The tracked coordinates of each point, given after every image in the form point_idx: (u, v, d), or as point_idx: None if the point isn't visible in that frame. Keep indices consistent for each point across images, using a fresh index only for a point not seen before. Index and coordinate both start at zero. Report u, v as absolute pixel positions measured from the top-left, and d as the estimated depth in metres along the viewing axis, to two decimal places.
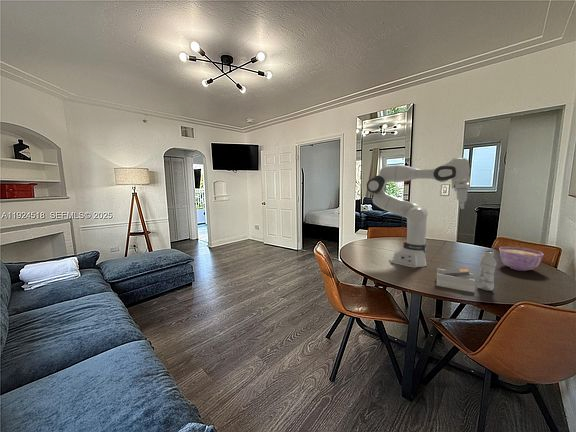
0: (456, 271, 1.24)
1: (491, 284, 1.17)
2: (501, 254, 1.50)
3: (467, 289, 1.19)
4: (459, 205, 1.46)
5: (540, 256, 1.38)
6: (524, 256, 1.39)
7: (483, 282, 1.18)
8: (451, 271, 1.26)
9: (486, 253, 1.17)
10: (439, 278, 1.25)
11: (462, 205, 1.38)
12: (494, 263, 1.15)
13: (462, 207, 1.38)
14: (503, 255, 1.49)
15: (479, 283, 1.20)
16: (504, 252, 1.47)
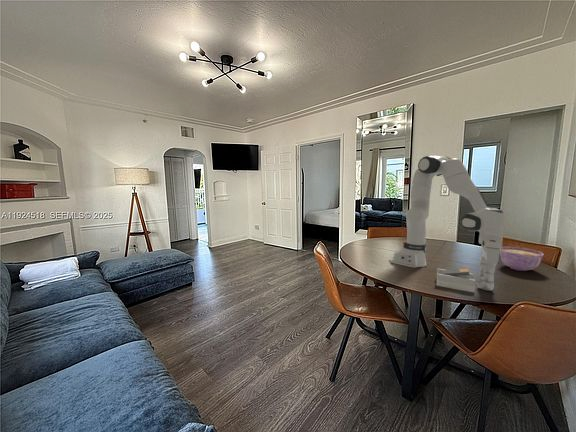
0: (456, 271, 1.24)
1: (491, 284, 1.17)
2: (501, 254, 1.50)
3: (467, 289, 1.19)
4: None
5: (540, 256, 1.38)
6: (524, 256, 1.39)
7: (483, 282, 1.18)
8: (451, 271, 1.26)
9: None
10: (439, 278, 1.25)
11: (489, 266, 1.14)
12: None
13: (489, 268, 1.15)
14: (503, 255, 1.49)
15: (479, 283, 1.20)
16: (504, 252, 1.47)
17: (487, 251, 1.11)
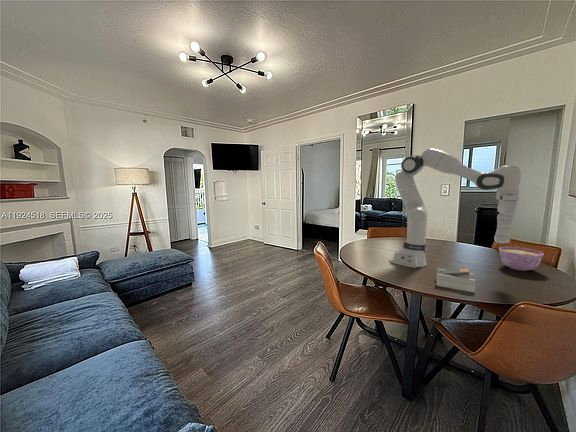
0: (456, 271, 1.24)
1: (508, 237, 1.26)
2: (501, 254, 1.50)
3: (467, 289, 1.19)
4: None
5: (540, 256, 1.38)
6: (524, 256, 1.39)
7: (500, 235, 1.28)
8: (451, 271, 1.26)
9: None
10: (439, 278, 1.25)
11: (506, 219, 1.24)
12: (511, 217, 1.25)
13: (506, 221, 1.25)
14: (503, 255, 1.49)
15: (496, 237, 1.30)
16: (504, 252, 1.47)
17: (505, 204, 1.20)
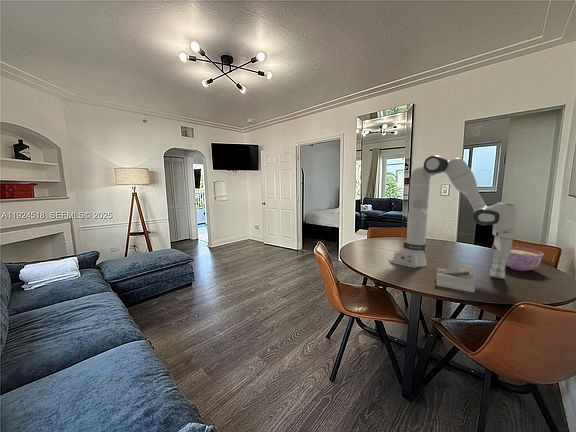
0: (456, 271, 1.24)
1: (503, 273, 1.31)
2: None
3: (467, 289, 1.19)
4: None
5: (540, 256, 1.38)
6: (524, 256, 1.39)
7: (496, 271, 1.32)
8: (451, 271, 1.26)
9: None
10: (439, 278, 1.25)
11: (503, 255, 1.26)
12: (507, 255, 1.28)
13: (502, 258, 1.26)
14: None
15: (491, 272, 1.34)
16: None
17: (501, 241, 1.23)
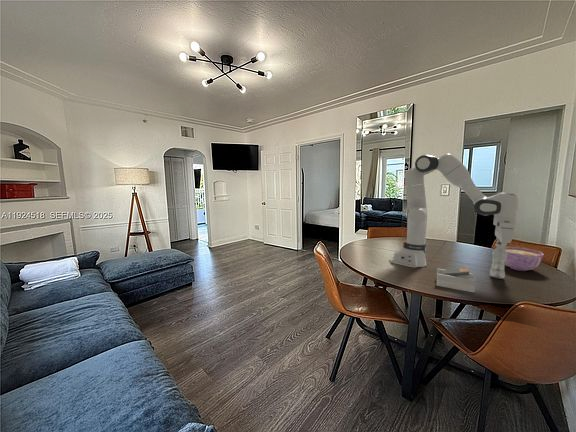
0: (456, 271, 1.24)
1: (503, 273, 1.31)
2: None
3: (467, 289, 1.19)
4: None
5: (540, 256, 1.38)
6: (524, 256, 1.39)
7: (495, 271, 1.33)
8: (451, 271, 1.26)
9: (498, 245, 1.31)
10: (439, 278, 1.25)
11: (504, 245, 1.25)
12: (505, 254, 1.29)
13: (503, 247, 1.26)
14: None
15: (491, 272, 1.35)
16: None
17: (502, 231, 1.22)
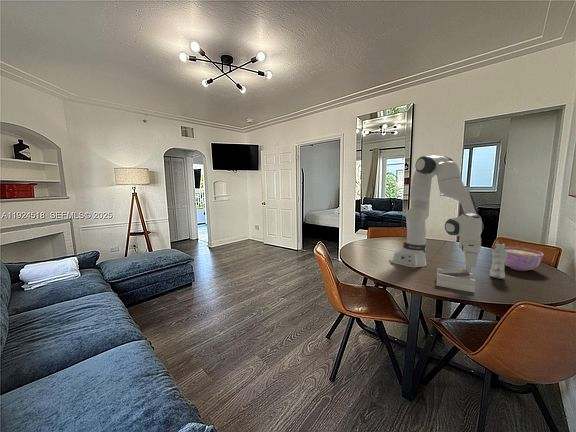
0: (456, 271, 1.24)
1: (503, 273, 1.31)
2: None
3: (467, 289, 1.19)
4: (466, 268, 1.23)
5: (540, 256, 1.38)
6: (524, 256, 1.39)
7: (495, 271, 1.33)
8: (451, 271, 1.26)
9: (498, 245, 1.32)
10: (439, 278, 1.25)
11: (469, 268, 1.21)
12: (505, 254, 1.30)
13: (468, 270, 1.21)
14: None
15: (491, 272, 1.35)
16: None
17: (466, 255, 1.14)
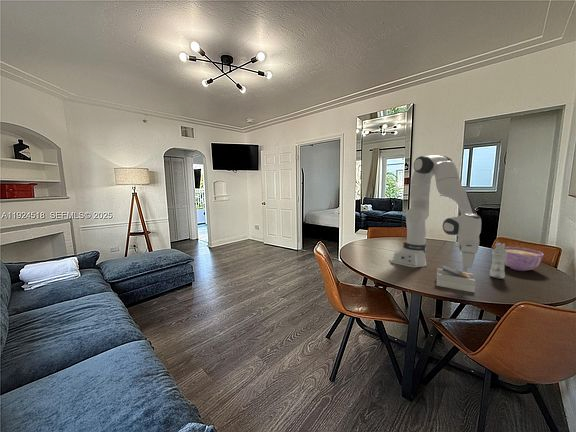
0: (457, 272, 1.24)
1: (503, 273, 1.31)
2: None
3: (467, 289, 1.19)
4: (463, 268, 1.24)
5: (540, 256, 1.38)
6: (524, 256, 1.39)
7: (495, 271, 1.33)
8: (453, 270, 1.26)
9: (498, 245, 1.32)
10: (439, 278, 1.25)
11: (465, 268, 1.22)
12: (505, 254, 1.30)
13: (465, 270, 1.22)
14: None
15: (491, 272, 1.35)
16: None
17: (463, 255, 1.15)
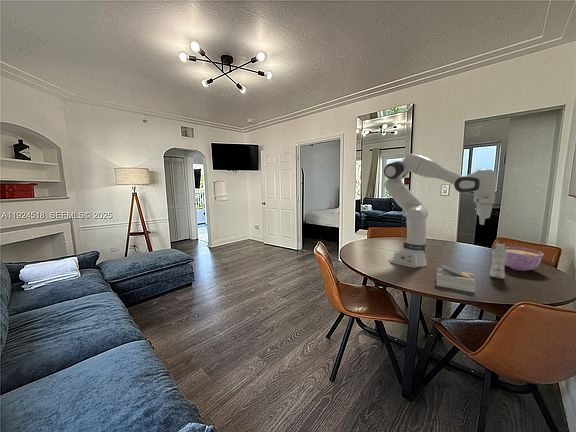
0: (457, 272, 1.24)
1: (503, 273, 1.31)
2: None
3: (467, 289, 1.19)
4: (479, 222, 1.31)
5: (540, 256, 1.38)
6: (524, 256, 1.39)
7: (495, 271, 1.33)
8: (453, 270, 1.26)
9: (498, 245, 1.32)
10: (439, 278, 1.25)
11: (482, 221, 1.29)
12: (505, 254, 1.30)
13: (482, 223, 1.29)
14: None
15: (491, 272, 1.35)
16: None
17: (481, 206, 1.22)
